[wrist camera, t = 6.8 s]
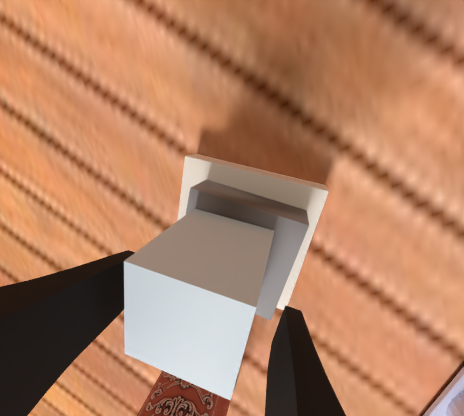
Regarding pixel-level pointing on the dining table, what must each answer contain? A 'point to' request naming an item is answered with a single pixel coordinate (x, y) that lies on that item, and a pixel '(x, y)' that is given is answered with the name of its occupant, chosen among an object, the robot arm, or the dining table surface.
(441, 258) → the dining table surface
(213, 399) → the lighter
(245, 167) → the base slab
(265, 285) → the gray slab
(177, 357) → the gray block
